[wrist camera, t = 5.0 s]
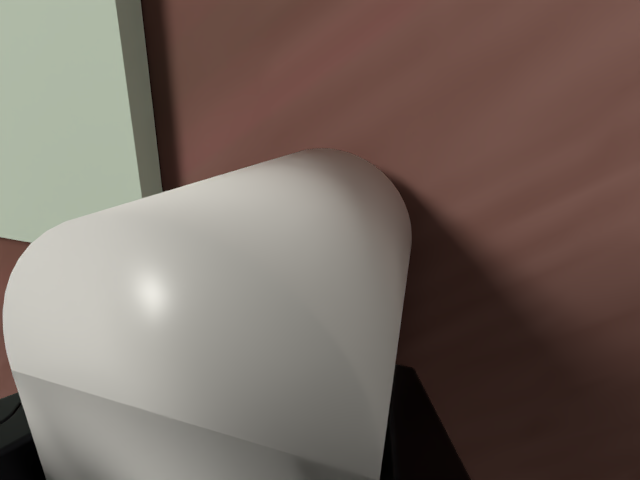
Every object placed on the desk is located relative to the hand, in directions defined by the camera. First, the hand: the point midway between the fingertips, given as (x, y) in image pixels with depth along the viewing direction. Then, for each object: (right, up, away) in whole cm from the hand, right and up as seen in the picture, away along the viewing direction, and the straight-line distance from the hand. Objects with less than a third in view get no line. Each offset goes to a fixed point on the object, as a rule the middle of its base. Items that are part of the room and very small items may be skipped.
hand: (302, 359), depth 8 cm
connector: (0, -1, +2) cm, 2 cm away
